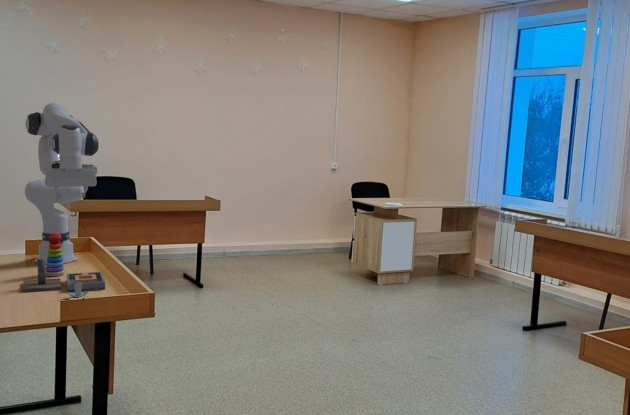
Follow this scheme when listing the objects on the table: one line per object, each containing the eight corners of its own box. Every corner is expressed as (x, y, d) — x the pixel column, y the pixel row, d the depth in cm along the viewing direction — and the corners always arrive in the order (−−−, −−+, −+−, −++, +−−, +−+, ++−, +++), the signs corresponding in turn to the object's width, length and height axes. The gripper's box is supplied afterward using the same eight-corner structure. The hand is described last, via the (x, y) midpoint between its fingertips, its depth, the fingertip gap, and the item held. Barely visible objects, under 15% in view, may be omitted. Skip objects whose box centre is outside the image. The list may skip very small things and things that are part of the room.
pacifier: (88, 300, 236) (88, 295, 242) (88, 284, 235) (87, 280, 241) (67, 302, 234) (67, 297, 239) (67, 285, 233) (67, 281, 238)
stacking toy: (57, 277, 267) (56, 234, 264) (40, 276, 268) (40, 233, 266) (68, 273, 275) (67, 231, 272) (52, 271, 276) (51, 230, 274)
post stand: (23, 283, 256) (22, 256, 254) (60, 281, 261) (59, 255, 260) (22, 292, 243) (21, 264, 242) (60, 289, 249) (60, 262, 247)
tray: (66, 280, 262) (66, 273, 262) (101, 278, 268) (101, 271, 267) (67, 291, 246) (67, 284, 246) (105, 289, 251) (105, 282, 251)
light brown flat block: (74, 280, 261) (74, 273, 260) (94, 278, 264) (94, 271, 263) (75, 287, 250) (75, 280, 249) (96, 286, 253) (96, 278, 253)
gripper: (96, 163, 266) (97, 195, 268) (44, 163, 258) (45, 196, 260) (97, 165, 261) (98, 197, 263) (44, 164, 253) (45, 198, 255)
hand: (71, 197), depth 261 cm, fingers open, 8 cm apart
